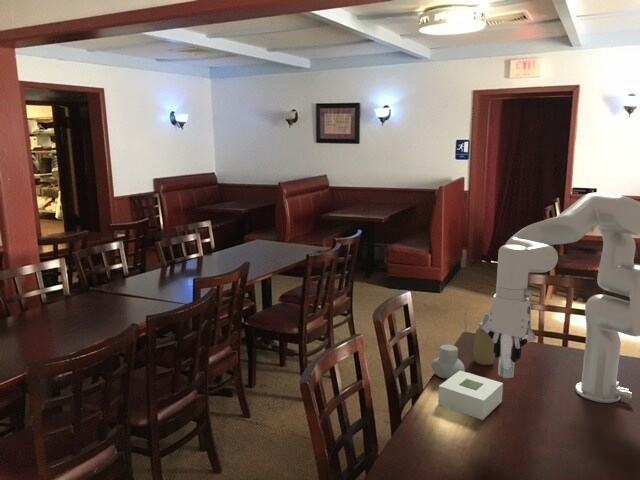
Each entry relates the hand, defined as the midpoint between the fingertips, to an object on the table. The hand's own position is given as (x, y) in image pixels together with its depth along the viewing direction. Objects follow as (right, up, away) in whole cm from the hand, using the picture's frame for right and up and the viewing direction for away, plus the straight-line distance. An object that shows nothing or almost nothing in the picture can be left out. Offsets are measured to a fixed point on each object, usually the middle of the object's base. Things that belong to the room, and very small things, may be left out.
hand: (506, 357), depth 144 cm
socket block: (-5, -18, +19) cm, 26 cm away
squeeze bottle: (+8, -12, +48) cm, 50 cm away
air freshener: (-7, -14, +38) cm, 41 cm away
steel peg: (0, -5, +1) cm, 5 cm away
